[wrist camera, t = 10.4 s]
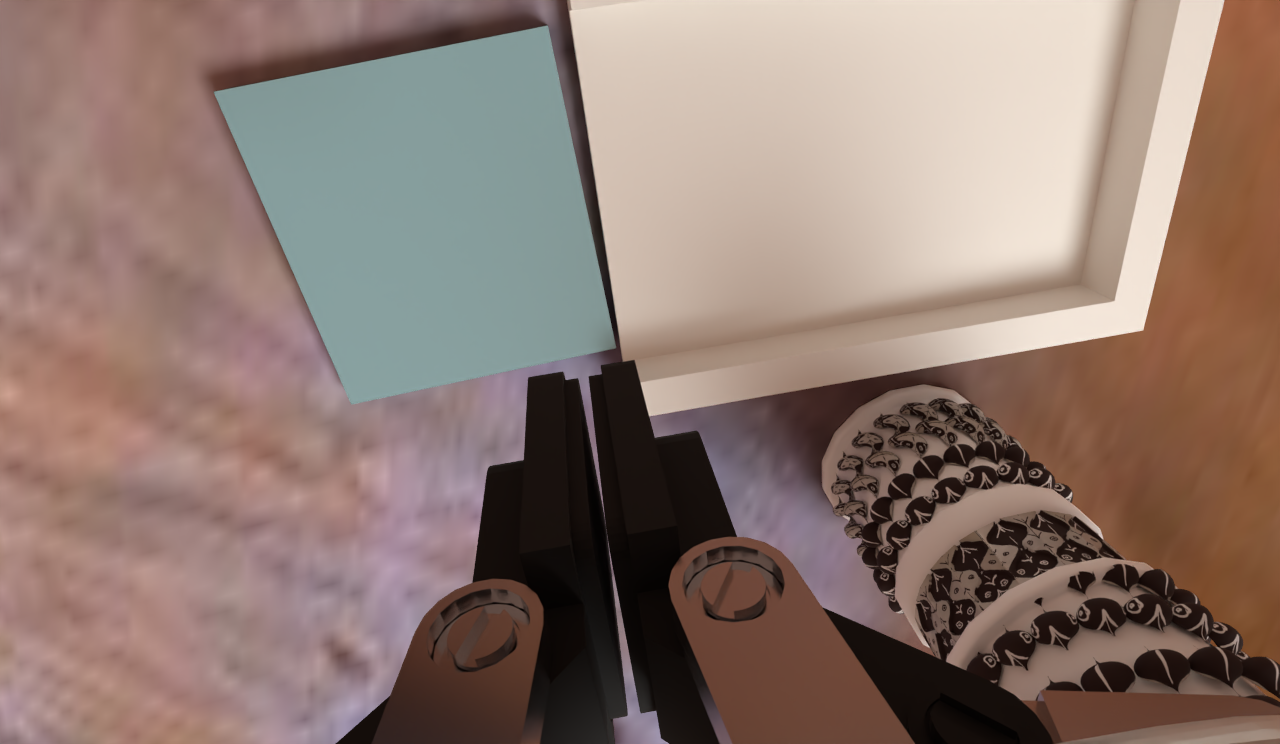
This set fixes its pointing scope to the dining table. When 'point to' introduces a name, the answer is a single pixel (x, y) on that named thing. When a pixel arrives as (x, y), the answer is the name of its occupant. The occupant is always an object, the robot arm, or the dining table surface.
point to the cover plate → (429, 211)
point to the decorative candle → (1015, 562)
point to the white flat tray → (879, 179)
